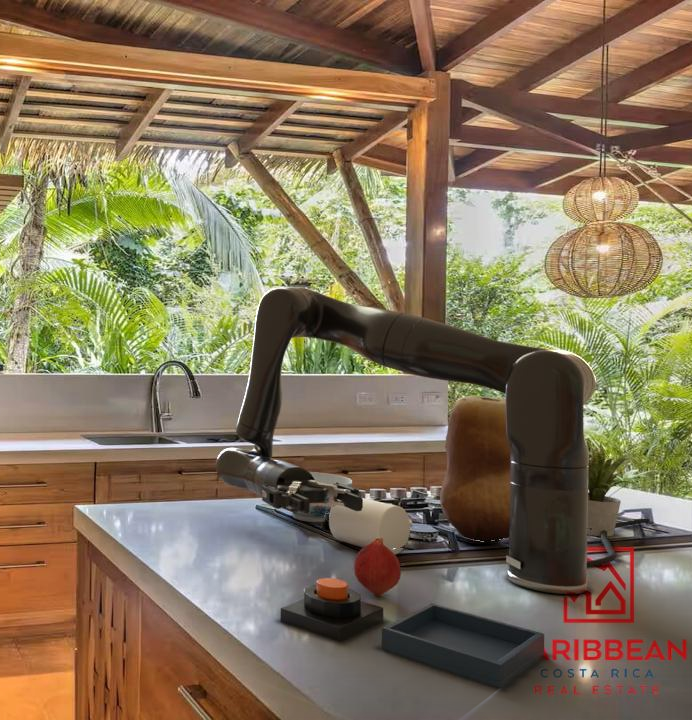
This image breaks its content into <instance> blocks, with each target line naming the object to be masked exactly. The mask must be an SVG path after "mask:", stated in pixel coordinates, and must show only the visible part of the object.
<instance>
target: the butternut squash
mask: <svg viewBox="0 0 692 720" xmlns="http://www.w3.org/2000/svg"><path fill="white" fill-rule="evenodd" d="M444 445H445V446H444V449H445V452H446V458H447V459H446V460H447V462H446V463H447V467H446V472H445V475H444V478H443V482H442V485H441V488H440V490H439V503H440V508H441V511H442V513H443V515H444V517H445V519H446V520H447V521H448V522H449V523H450V526H452V527H453V528H454V529H455V530H456V531H457V532H458V533H459V535H460V536H461V537H462V538H463V539H464V540H465V541H467V543H469V544H487V543H488V544H492V543H499V542H501V541H502V540H499V539H503V538H506V539H509V528H510V461H511V460H510V447H509V444H508V441H507V436H506V398H500V397H499V398H498V397H487V396H481V395H467V396H463V397H461V398H459V399H458V400H457V401H455V403H454V404H453V406H452V408H451V410H450V414H449V419H448V423H447V431H446V436H445V444H444ZM463 536H464V537H467V538H470V539H474V540H480V541H484V542H480V541H473V540H470V539H466V538H464V537H463ZM491 540H495V541H491ZM503 540H504V539H503Z"/></svg>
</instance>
